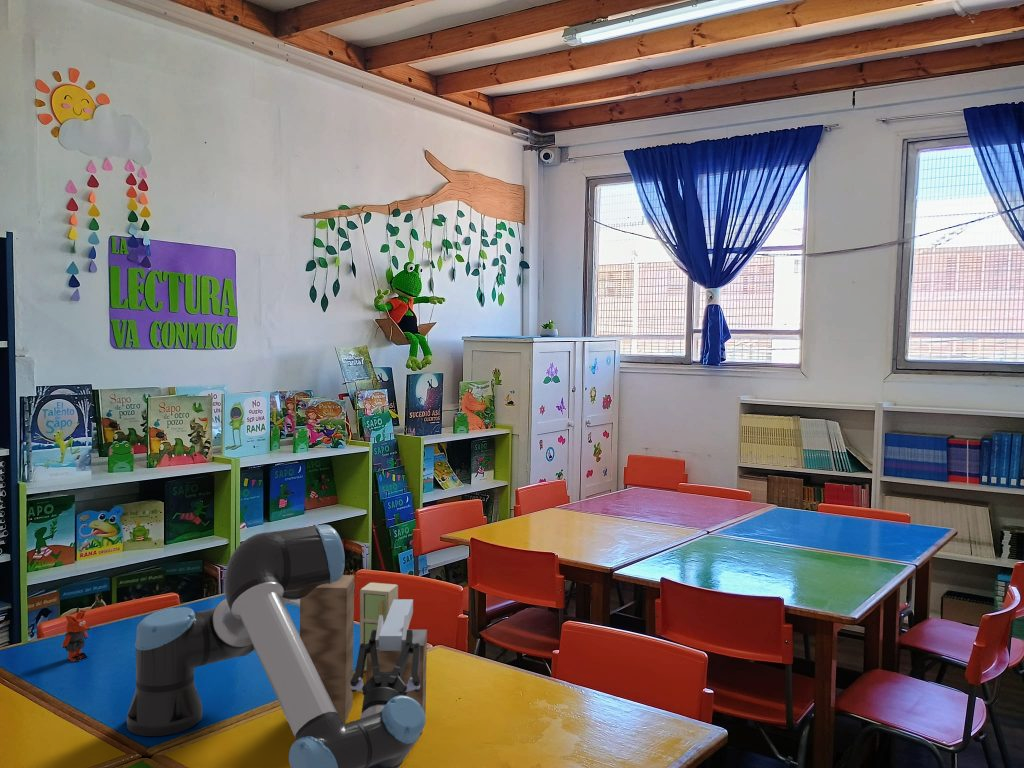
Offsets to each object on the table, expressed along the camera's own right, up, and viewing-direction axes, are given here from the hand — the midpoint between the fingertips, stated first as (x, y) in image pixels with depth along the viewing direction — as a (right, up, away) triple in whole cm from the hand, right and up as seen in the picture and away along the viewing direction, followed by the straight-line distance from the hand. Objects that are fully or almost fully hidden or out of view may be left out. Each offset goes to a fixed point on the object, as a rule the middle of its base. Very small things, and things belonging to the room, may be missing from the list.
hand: (394, 619), depth 174 cm
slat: (0, -4, +6) cm, 8 cm away
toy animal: (-87, -22, +41) cm, 98 cm away
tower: (-17, -24, +12) cm, 32 cm away
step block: (-1, -25, +8) cm, 26 cm away
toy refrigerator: (-10, -24, +39) cm, 47 cm away
